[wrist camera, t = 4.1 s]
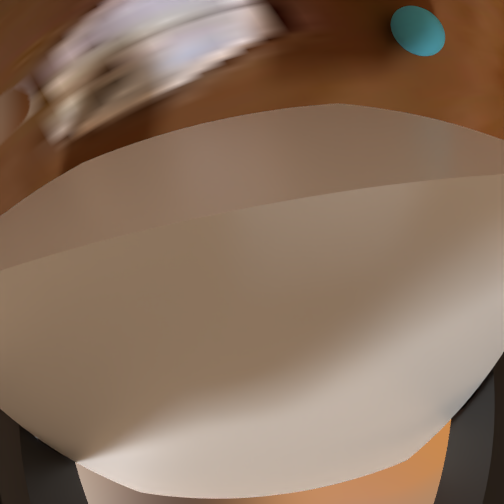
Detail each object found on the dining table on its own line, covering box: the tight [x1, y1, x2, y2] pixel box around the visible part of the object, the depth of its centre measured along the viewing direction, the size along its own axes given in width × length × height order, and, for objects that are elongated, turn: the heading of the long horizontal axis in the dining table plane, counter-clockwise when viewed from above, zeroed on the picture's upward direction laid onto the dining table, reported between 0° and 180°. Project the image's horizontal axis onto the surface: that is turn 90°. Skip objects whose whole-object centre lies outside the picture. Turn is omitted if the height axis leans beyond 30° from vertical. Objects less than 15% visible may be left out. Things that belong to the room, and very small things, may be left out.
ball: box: [391, 6, 445, 56], centre depth 14 cm, size 5×5×5 cm
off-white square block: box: [0, 104, 504, 498], centre depth 8 cm, size 10×10×9 cm
